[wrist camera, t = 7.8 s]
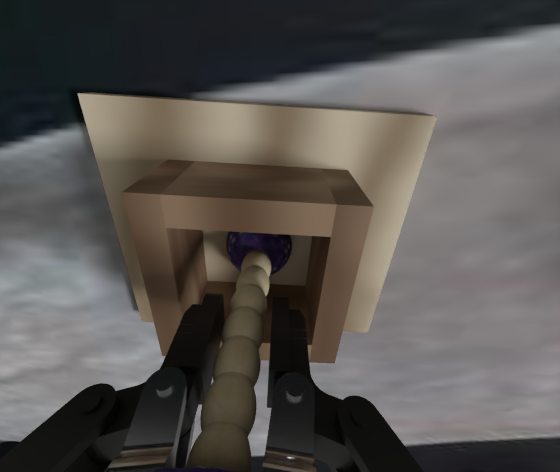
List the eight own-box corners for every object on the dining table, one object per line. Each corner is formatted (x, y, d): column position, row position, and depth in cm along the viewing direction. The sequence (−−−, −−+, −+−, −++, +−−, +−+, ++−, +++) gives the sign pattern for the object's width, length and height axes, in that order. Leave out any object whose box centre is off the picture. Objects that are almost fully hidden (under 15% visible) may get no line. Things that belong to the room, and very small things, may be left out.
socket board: (428, 114, 15) (508, 134, 9) (364, 322, 23) (388, 395, 17) (89, 92, 14) (-22, 100, 9) (147, 312, 22) (106, 383, 17)
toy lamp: (210, 254, 18) (-72, 950, 4) (233, 194, 16) (-223, 1300, 2) (275, 278, 19) (258, 899, 5) (306, 224, 17) (450, 1069, 2)
